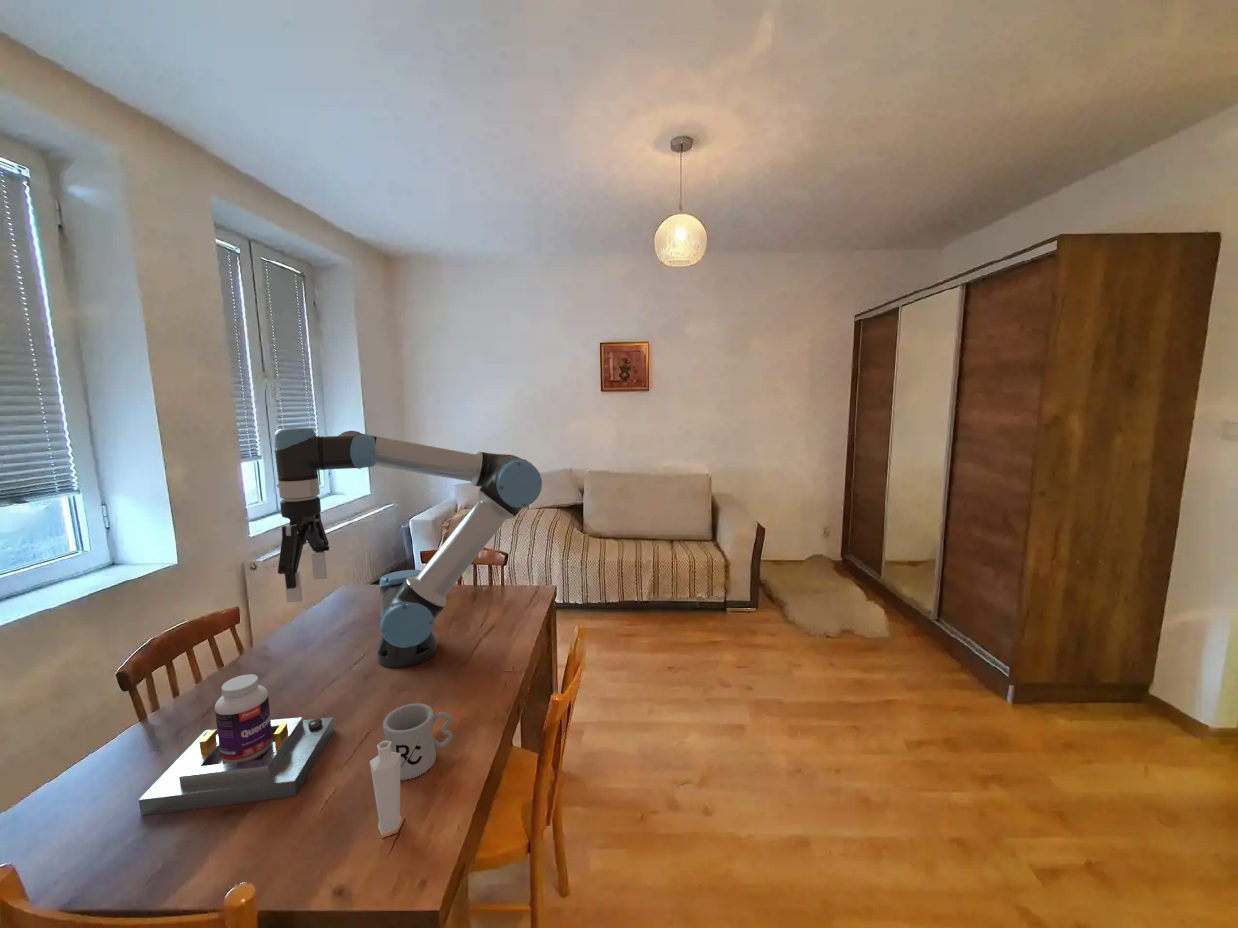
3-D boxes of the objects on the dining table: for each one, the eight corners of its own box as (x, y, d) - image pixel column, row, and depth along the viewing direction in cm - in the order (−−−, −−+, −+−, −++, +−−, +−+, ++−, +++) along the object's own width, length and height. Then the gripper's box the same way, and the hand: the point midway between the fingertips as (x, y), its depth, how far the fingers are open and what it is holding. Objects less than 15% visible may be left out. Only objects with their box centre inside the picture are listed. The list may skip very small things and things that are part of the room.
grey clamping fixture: (334, 730, 107) (331, 697, 106) (296, 795, 90) (292, 757, 89) (207, 743, 103) (202, 709, 102) (141, 815, 86) (135, 775, 84)
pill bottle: (246, 770, 92) (238, 697, 90) (209, 764, 93) (200, 692, 91) (283, 740, 99) (276, 672, 97) (249, 735, 101) (241, 668, 99)
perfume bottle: (380, 817, 85) (374, 735, 83) (407, 815, 85) (401, 734, 83) (369, 841, 81) (362, 755, 79) (397, 839, 81) (391, 753, 79)
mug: (386, 789, 91) (383, 738, 90) (384, 757, 99) (380, 710, 98) (457, 766, 97) (455, 718, 95) (449, 737, 105) (447, 693, 103)
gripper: (305, 488, 123) (313, 571, 126) (251, 511, 99) (261, 613, 102) (339, 487, 125) (345, 569, 128) (293, 509, 100) (302, 610, 103)
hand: (308, 589), depth 115 cm, fingers open, 13 cm apart
